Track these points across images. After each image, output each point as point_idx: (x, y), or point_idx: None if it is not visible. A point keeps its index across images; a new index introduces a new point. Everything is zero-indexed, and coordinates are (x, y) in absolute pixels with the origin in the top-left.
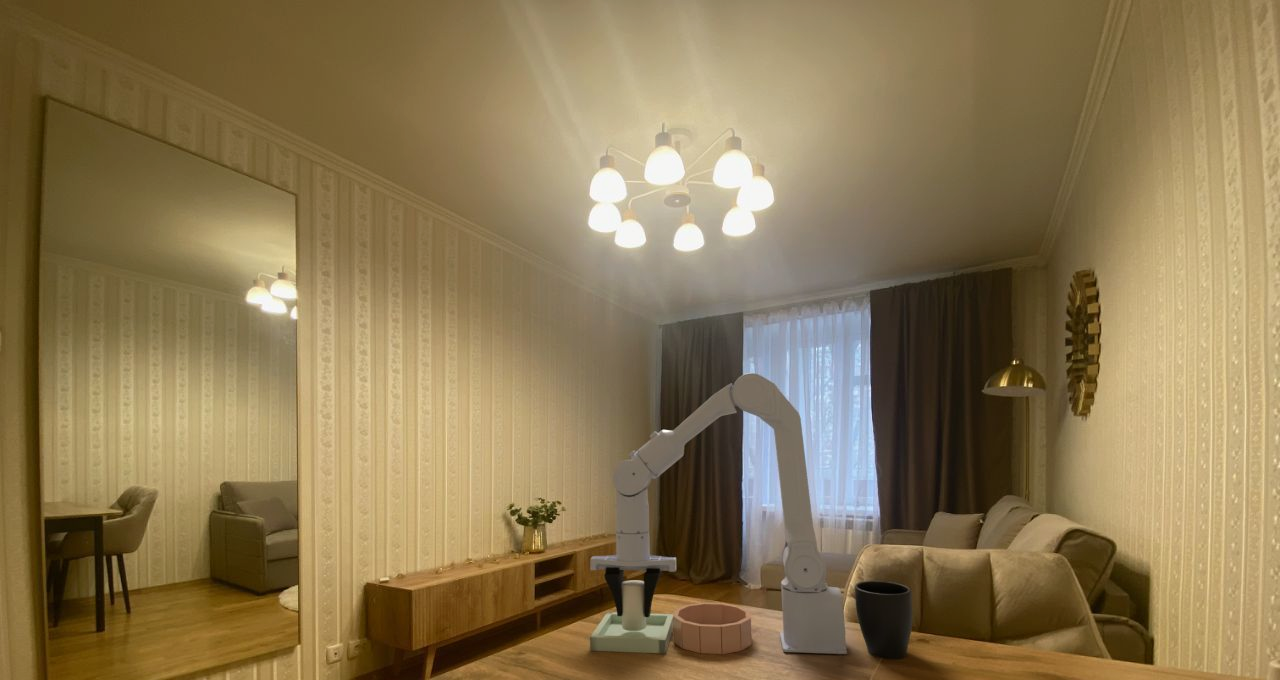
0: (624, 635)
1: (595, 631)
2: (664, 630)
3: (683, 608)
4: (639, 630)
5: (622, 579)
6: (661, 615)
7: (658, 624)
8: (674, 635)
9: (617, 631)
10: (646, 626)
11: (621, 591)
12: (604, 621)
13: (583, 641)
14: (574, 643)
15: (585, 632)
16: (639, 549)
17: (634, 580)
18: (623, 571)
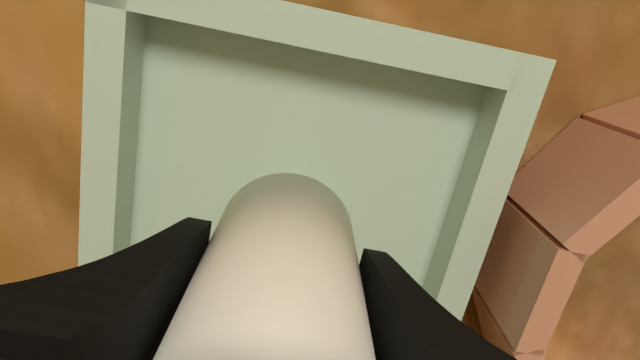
0: None
1: None
2: None
3: (624, 226)
4: (316, 175)
5: (118, 352)
6: (469, 77)
7: (433, 81)
8: (480, 303)
9: (198, 179)
10: (359, 112)
11: (153, 329)
12: (103, 165)
13: (44, 235)
14: (8, 256)
15: (20, 108)
16: None
17: (269, 345)
18: (81, 342)
